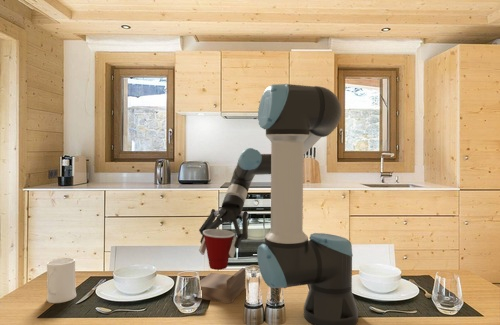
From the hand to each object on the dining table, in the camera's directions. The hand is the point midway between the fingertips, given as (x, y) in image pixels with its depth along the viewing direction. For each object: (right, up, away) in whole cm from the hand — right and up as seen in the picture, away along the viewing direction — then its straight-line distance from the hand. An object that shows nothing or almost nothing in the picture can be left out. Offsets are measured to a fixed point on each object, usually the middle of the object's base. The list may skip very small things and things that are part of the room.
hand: (215, 254), depth 118 cm
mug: (-50, -14, -2) cm, 52 cm away
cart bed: (+1, -14, +3) cm, 14 cm away
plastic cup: (+1, -5, +3) cm, 6 cm away
